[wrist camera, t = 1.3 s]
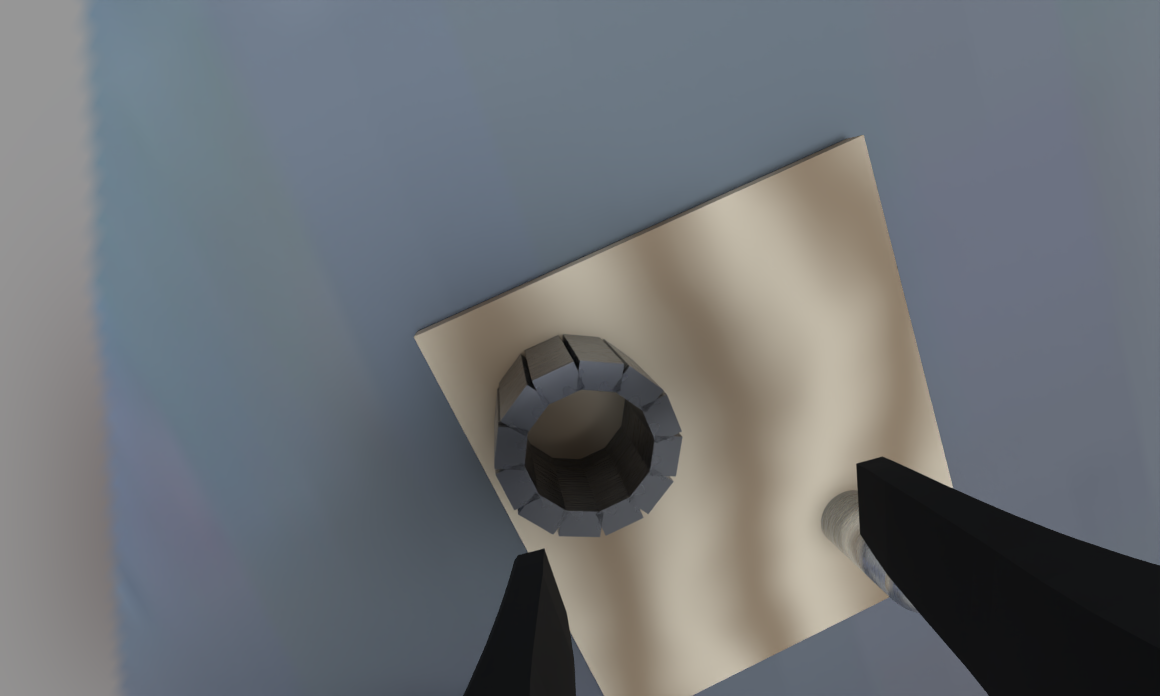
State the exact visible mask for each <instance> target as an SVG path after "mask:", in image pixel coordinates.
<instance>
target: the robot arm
mask: <svg viewBox="0 0 1160 696" xmlns="http://www.w3.org/2000/svg"><path fill="white" fill-rule="evenodd" d="M856 470H857V488H858V507H859V525H860V535H861V536H862V538H863V539H864V541H865V543H866V544H867V546H868V547H869V549H870V550H871V552H872V553H873V555H874V556H875V558H876V559H877V561H878V562H879V564H880V565H881V566H882V568H883V569H884V571H885V572H886V574H887V575H888V576H889V578H890V579H891V580H892V581H893V582H894V584H895V585H896V586H897V587H898V588H899V590H900V591H901V592H902V593H903V594H904V595H905V597H906V598H907V599H908V600H909V601H910V602H911V604H912V605H913V606H914V607H915V608H916V610H917V611H918V612H919V613H920V614H921V615H922V616H923V618H924V619H925V620H926V621H927V622H928V623H929V625H930V626H931V627H932V628H933V629H934V630H935V632H936V633H937V634H938V635H939V636H940V637H941V639H942V640H943V641H944V642H945V643H946V644H947V645H948V647H949V648H950V649H951V650H952V651H953V652H954V654H955V655H956V656H957V657H958V658H959V659H960V661H961V662H962V663H963V664H964V665H965V666H966V668H967V669H968V670H969V671H970V672H971V674H972V675H973V676H974V677H975V679H976V680H977V681H978V682H979V684H980V685H981V686H982V687H983V689H984V690H985V691H986V692H987V694H988V695H989V696H1160V566H1159V565H1156V564H1152V563H1149V562H1146V561H1142V560H1139V559H1136V558H1132V557H1129V556H1126V555H1123V554H1120V553H1117V552H1114V551H1111V550H1108V549H1105V548H1102V547H1099V546H1096V545H1093V544H1090V543H1087V542H1084V541H1081V540H1078V539H1075V538H1072V537H1070V536H1067V535H1064V534H1061V533H1058V532H1056V531H1053V530H1051V529H1048V528H1045V527H1043V526H1040V525H1038V524H1035V523H1033V522H1030V521H1028V520H1025V519H1023V518H1020V517H1018V516H1015V515H1013V514H1010V513H1008V512H1005V511H1003V510H1001V509H998V508H996V507H994V506H991V505H989V504H987V503H984V502H982V501H980V500H978V499H975V498H973V497H971V496H968V495H966V494H964V493H962V492H960V491H957V490H955V489H953V488H951V487H949V486H946V485H944V484H942V483H940V482H938V481H936V480H933V479H931V478H929V477H927V476H925V475H923V474H921V473H918V472H916V471H914V470H912V469H910V468H908V467H905V466H903V465H901V464H899V463H897V462H894V461H892V460H890V459H887V458H885V457H883V456H882V457H879V458H875V459H871V460H867V461H864V462H860V463H856ZM463 696H576V689H575V668H574V657H573V650H572V643H571V636H570V629H569V623H568V616H567V612H566V609H565V606H564V604H563V601H562V598H561V595H560V592H559V589H558V586H557V583H556V581H555V578H554V575H553V572H552V569H551V566H550V563H549V560H548V558H547V555H546V552H545V549H540V550H536V551H533V552H529V553H525V554H522V555H518V556H517V558H516V559H515V561H514V564H513V568H512V571H511V575H510V578H509V581H508V585H507V588H506V591H505V594H504V597H503V600H502V603H501V606H500V609H499V612H498V614H497V617H496V619H495V622H494V625H493V627H492V630H491V633H490V635H489V638H488V641H487V643H486V646H485V648H484V650H483V653H482V655H481V657H480V659H479V662H478V664H477V666H476V669H475V671H474V673H473V675H472V678H471V680H470V682H469V684H468V687H467V689H466V691H465V693H464V695H463Z"/></svg>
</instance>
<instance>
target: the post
mask: <svg viewBox="0 0 1160 696" xmlns="http://www.w3.org/2000/svg"><path fill="white" fill-rule="evenodd" d="M821 527H822V531H823V533H824V535H825V536H826V537H827V538H828V539H829V540H830V541H831V542H832V543H833V544H834V545H835V546H836V547H837V548H838V549H839V550H840V551H841V552H842V553H843V554H845V555H846V556H847V557H848V558H849V559H850V560H851V561H852V562H853V563H854V564H855V565H856V566H857V567H858V568H859V569H860V570H861V571H863V572H864V573H865V574H866V575H867V576H868V577H869V578H870V579H871V580H872V581H873V582H874V583H875V584H876V585H877V586H878V587H879V588H881V589H882V590H883V591H884V592H885V593H886V594H887V595H888V596H889V597H890V598H891V599H892V600H893V601H895V602H896V603H897V604H898V605H900V606H902V607H903V608H905V609H908V610H910V611H913V612H916V613H919V612H918V611H917V610H916V608H915V607H914V606H913V605H912V604H911V602H910V601H909V600H908V599H907V598H906V597H905V595H904V594H903V593H902V592H901V591H900V590H899V588H898V587H897V586H896V585H895V584H894V582H893V581H892V580H891V579H890V578H889V576H888V575H887V574H886V572H885V571H884V569H883V568H882V566H881V565H880V564H879V562H878V561H877V559H876V558H875V556H874V555H873V553H872V552H871V550H870V549H869V547H868V546H867V544H866V543H865V541H864V539H863V538H862V536H861V535H860V525H859V507H858V491H857V490H850V491H846V492H843V493H841V494H839V495H837V496H836V497H834V498H833V499H832V500H831V501H830V502H829V503H828V504H827V506H826V507H825V509H824V511H823V514H822V518H821Z"/></svg>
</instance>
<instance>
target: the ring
mask: <svg viewBox="0 0 1160 696" xmlns="http://www.w3.org/2000/svg"><path fill="white" fill-rule="evenodd" d="M524 351H525V355H526V357H525V356H524V355H522V354H521V353H520V355H519V356H518V357H517V359H516V360H515V362H514V363H513V364H512V366H511V367H510V368H509V370H508V371H507V373H506V374H505V375H504V377H503V378H502V379H501V381H500V382H499V388H497V396H496V407H495V418H494V469H495V475H496V477H497V479H498V481H499V482H500V484H501V486H502V488H503V490H504V492H505V494H506V496H507V498H508V500H509V501H510V503H511V505H512V507H513V509H514V510H516V509H518V515H520V516H522V517H523V518H525V519H527V520H528V521H530V522H532V523H534V524H535V525H537V526H539V527H541V528H542V529H544V530H546V531H547V532H549V533H551V534H554V533H555V532H556V531H558V536H565V537H600V535H601V528H602V529H603V531H604V533H605V535H606V536H607V535H609V534H611V533H613V532H615V531H617V530H619V529H621V528H624V527H626V526H628V525H630V524H632V523H634V522H636V521H638V520H640V519H642V518H644V517H643V515H642V513H641V511H640V509H641V510H642V511H644V512H646V513H647V514H649V513H650V511H651V510H652V509H653V508H654V506H655V505H656V504H657V502H658V501H659V500H660V499H661V497H662V496H663V495H664V493H665V492H666V491H667V490H668V488H669V487H670V486H671V484H672V483H673V482H674V481H673V480H672V478H671V477H670V476H676V473H677V467H678V461H679V455H680V449H681V443H682V436H681V435H680V432H682V430H681V428H680V425H679V423H678V420H677V418H676V415H675V413H674V410H673V408H672V405H671V403H670V401H669V398H668V396H667V394H666V393H665V392H664V391H663V389H662V388H661V387H660V386H659V385H658V384H657V383H656V382H655V381H654V380H653V379H652V378H651V377H650V376H649V375H648V374H647V373H646V372H645V371H644V370H643V369H642V368H641V367H640V366H639V365H638V364H637V363H635V362H634V361H633V360H632V359H631V358H630V357H629V356H627V355H626V354H624V353H623V352H622V351H620V350H619V349H617V348H616V347H615V346H613V345H612V344H610V343H609V342H608V341H606V340H605V339H603V340H601V338H600V337H593V336H581V335H570V334H563V340H562V341H561V339H560V337H559V335H557V336H555V337H552V338H550V339H548V340H546V341H544V342H541V343H539V344H537V345H535V346H533V347H530V348H528V349H526V350H524ZM580 390H591V391H606V392H616V393H618V394H619V395H620V396H622V397H623V398H624V399H625V403H624V410H623V417H622V424H621V427H620V428H619V430H618V431H617V432H616V434H615V435H614V436H613V438H612V439H611V440H610V441H609V443H608V444H607V445H606V447H605V448H603V449H601V450H599V451H596V452H594V453H592V454H590V455H588V456H586V457H584V458H581V459H565V458H552V457H551V456H549V455H547V454H546V453H544V452H543V451H541V450H539V449H538V448H536V447H535V446H533V445H531V444H530V442H529V440H528V438H527V436H528V432H529V431H530V429H531V428H532V427H533V425H534V424H535V423H536V421H537V420H538V418H539V417H540V416H541V414H542V413H543V412H544V410H545V409H546V408H547V406H548V405H549V404H551V403H554V402H556V401H558V400H560V399H562V398H564V397H567V396H569V395H571V394H573V393H575V392H577V391H580Z"/></svg>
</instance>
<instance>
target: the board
mask: <svg viewBox="0 0 1160 696" xmlns="http://www.w3.org/2000/svg"><path fill="white" fill-rule="evenodd" d="M563 334H570V335H581V336H593V337H600V338H601V340H603V339H605V340H606V341H608V342H609V343H610V344H612V345H613V346H615V347H616V348H617V349H619V350H620V351H622V352H623V353H624V354H626V355H627V356H629V357H630V358H631V359H632V360H633V361H634V362H635V363H637V364H638V365H639V366H640V367H641V368H642V369H643V370H644V371H645V372H646V373H647V374H648V375H649V376H650V377H651V378H652V379H653V380H654V381H655V382H656V383H657V384H658V385H659V386H660V387H661V388H662V389H663V391H664V392H665V393H666V394H667V396H668V398H669V401H670V403H671V405H672V408H673V410H674V413H675V415H676V418H677V420H678V423H679V425H680V428H681V430H682V432H680V435H681V436H682V443H681V449H680V455H679V461H678V467H677V473H676V476H670V477H671V478H672V480H673V481H674V482H673V483H672V484H671V486H670V487H669V488H668V490H667V491H666V492H665V493H664V495H663V496H662V497H661V499H660V500H659V501H658V502H657V504H656V505H655V506H654V508H653V509H652V510H651V511H650V513H649V514H647V513H646V512H644V511H642V510H641V509H640V511H641V513H642V515H643V517H644V518H642V519H640V520H638V521H636V522H634V523H632V524H630V525H628V526H626V527H624V528H621V529H619V530H617V531H615V532H613V533H611V534H609V535H607V536H606V535H605V533H604V531H603V529H602V528H601V535H600V537H565V536H558V531H556V532H555V533H554V534H551V533H549V532H547V531H546V530H544V529H542V528H541V527H539V526H537V525H535V524H534V523H532V522H530V521H528V520H527V519H525V518H523V517H522V516H520V515H518V509H516V510H514V509H513V507H512V505H511V503H510V501H509V500H508V498H507V496H506V494H505V492H504V490H503V488H502V486H501V484H500V482H499V481H498V479H497V477H496V475H495V469H494V418H495V407H496V396H497V388H499V382H500V381H501V379H502V378H503V377H504V375H505V374H506V373H507V371H508V370H509V368H510V367H511V366H512V364H513V363H514V362H515V360H516V359H517V357H518V356H519V355H520V353H521V354H522V355H524V356H525V357H526V355H525V351H524V350H526V349H528V348H530V347H533V346H535V345H537V344H539V343H541V342H544V341H546V340H548V339H550V338H552V337H555V336H557V335H559V337H560V339H561V341H562V340H563ZM414 338H415V340H416V342H417V344H418V346H419V348H420V350H421V352H422V353H423V355H424V357H425V359H426V361H427V363H428V365H429V367H430V368H431V370H432V372H433V374H434V376H435V378H436V380H437V382H438V384H439V385H440V387H441V389H442V391H443V393H444V395H445V397H446V399H447V400H448V402H449V404H450V406H451V408H452V410H453V412H454V414H455V416H456V417H457V419H458V421H459V423H460V425H461V427H462V429H463V431H464V433H465V434H466V436H467V438H468V440H469V442H470V444H471V446H472V448H473V449H474V451H475V453H476V455H477V457H478V459H479V461H480V463H481V465H482V466H483V468H484V470H485V472H486V474H487V476H488V478H489V480H490V481H491V483H492V485H493V487H494V489H495V491H496V493H497V495H498V497H499V498H500V500H501V502H502V504H503V506H504V508H505V510H506V512H507V514H508V515H509V517H510V519H511V521H512V523H513V525H514V527H515V529H516V530H517V532H518V534H519V536H520V538H521V540H522V542H523V544H524V546H525V547H526V549H527V551H528V553H529V552H533V551H536V550H540V549H545V552H546V555H547V558H548V560H549V563H550V566H551V569H552V572H553V575H554V578H555V581H556V583H557V586H558V589H559V592H560V595H561V598H562V601H563V604H564V606H565V609H566V612H567V616H568V623H569V629H570V632H571V634H572V636H573V638H574V640H575V642H576V643H577V645H578V647H579V649H580V651H581V653H582V655H583V657H584V659H585V660H586V662H587V664H588V666H589V668H590V670H591V672H592V674H593V675H594V677H595V679H596V681H597V683H598V685H599V687H600V689H601V691H602V692H603V694H604V696H692V695H694V694H696V693H698V692H700V691H702V690H704V689H706V688H708V687H710V686H712V685H714V684H716V683H718V682H720V681H722V680H724V679H726V678H728V677H730V676H732V675H734V674H736V673H738V672H740V671H742V670H744V669H746V668H748V667H750V666H752V665H754V664H756V663H758V662H760V661H762V660H764V659H766V658H768V657H770V656H772V655H774V654H776V653H778V652H780V651H782V650H784V649H786V648H788V647H790V646H792V645H794V644H796V643H798V642H800V641H802V640H804V639H806V638H808V637H810V636H812V635H814V634H816V633H818V632H820V631H822V630H824V629H826V628H828V627H830V626H832V625H834V624H836V623H838V622H840V621H842V620H844V619H846V618H848V617H850V616H853V615H855V614H857V613H859V612H861V611H863V610H865V609H867V608H869V607H871V606H873V605H875V604H877V603H879V602H881V601H883V600H885V599H887V598H889V596H888V595H887V594H886V593H885V592H884V591H883V590H882V589H881V588H879V587H878V586H877V585H876V584H875V583H874V582H873V581H872V580H871V579H870V578H869V577H868V576H867V575H866V574H865V573H864V572H863V571H861V570H860V569H859V568H858V567H857V566H856V565H855V564H854V563H853V562H852V561H851V560H850V559H849V558H848V557H847V556H846V555H845V554H843V553H842V552H841V551H840V550H839V549H838V548H837V547H836V546H835V545H834V544H833V543H832V542H831V541H830V540H829V539H828V538H827V537H826V536H825V535H824V533H823V531H822V527H821V518H822V514H823V511H824V509H825V507H826V506H827V504H828V503H829V502H830V501H831V500H832V499H833V498H834V497H836V496H837V495H839V494H841V493H843V492H846V491H850V490H857V491H858V488H857V470H856V463H860V462H864V461H867V460H871V459H875V458H879V457H882V456H883V457H885V458H887V459H890V460H892V461H894V462H897V463H899V464H901V465H903V466H905V467H908V468H910V469H912V470H914V471H916V472H918V473H921V474H923V475H925V476H927V477H929V478H931V479H933V480H936V481H938V482H940V483H942V484H944V485H946V486H949V487H951V488H953V486H952V482H951V478H950V474H949V470H948V466H947V462H946V458H945V454H944V450H943V446H942V442H941V439H940V435H939V431H938V427H937V423H936V419H935V415H934V411H933V407H932V403H931V399H930V395H929V391H928V387H927V383H926V379H925V375H924V372H923V368H922V364H921V360H920V356H919V352H918V348H917V344H916V340H915V336H914V332H913V328H912V324H911V320H910V316H909V312H908V308H907V304H906V301H905V297H904V293H903V289H902V285H901V281H900V277H899V273H898V269H897V265H896V261H895V257H894V253H893V249H892V245H891V241H890V237H889V233H888V230H887V226H886V222H885V218H884V214H883V210H882V206H881V202H880V198H879V194H878V190H877V186H876V182H875V178H874V174H873V170H872V166H871V162H870V159H869V155H868V151H867V147H866V143H865V139H864V135H861V136H857V137H852V138H848V139H845V140H843V141H841V142H839V143H836V144H834V145H832V146H830V147H827V148H825V149H823V150H821V151H819V152H816V153H814V154H812V155H810V156H807V157H805V158H803V159H801V160H798V161H796V162H794V163H792V164H790V165H787V166H785V167H783V168H781V169H778V170H776V171H774V172H772V173H770V174H767V175H765V176H763V177H761V178H758V179H756V180H754V181H752V182H749V183H747V184H745V185H743V186H741V187H738V188H736V189H734V190H732V191H729V192H727V193H725V194H723V195H720V196H718V197H716V198H714V199H712V200H709V201H707V202H705V203H703V204H700V205H698V206H696V207H694V208H692V209H689V210H687V211H685V212H683V213H680V214H678V215H676V216H674V217H671V218H669V219H667V220H665V221H663V222H660V223H658V224H656V225H654V226H651V227H649V228H647V229H645V230H643V231H640V232H638V233H636V234H634V235H631V236H629V237H627V238H625V239H622V240H620V241H618V242H616V243H614V244H611V245H609V246H607V247H605V248H602V249H600V250H598V251H596V252H594V253H591V254H589V255H587V256H585V257H582V258H580V259H578V260H576V261H573V262H571V263H569V264H567V265H565V266H562V267H560V268H558V269H556V270H553V271H551V272H549V273H547V274H545V275H542V276H540V277H538V278H536V279H533V280H531V281H529V282H527V283H524V284H522V285H520V286H518V287H516V288H513V289H511V290H509V291H507V292H504V293H502V294H500V295H498V296H496V297H493V298H491V299H489V300H487V301H484V302H482V303H480V304H478V305H475V306H473V307H471V308H469V309H467V310H464V311H462V312H460V313H458V314H455V315H453V316H451V317H449V318H447V319H444V320H442V321H440V322H438V323H435V324H433V325H431V326H429V327H426V328H424V329H422V330H420V331H418V332H417V333H416V334H415V336H414ZM624 403H625V399H624V398H623V397H622V396H620V395H619V394H618V393H616V392H606V391H591V390H580V391H577V392H575V393H573V394H571V395H569V396H567V397H564V398H562V399H560V400H558V401H556V402H554V403H551V404H549V405H548V406H547V408H546V409H545V410H544V412H543V413H542V414H541V416H540V417H539V418H538V420H537V421H536V423H535V424H534V425H533V427H532V428H531V429H530V431H529V432H528V436H527V438H528V440H529V442H530V444H531V445H533V446H535V447H536V448H538V449H539V450H541V451H543V452H544V453H546V454H547V455H549V456H551V457H552V458H565V459H581V458H584V457H586V456H588V455H590V454H592V453H594V452H596V451H599V450H601V449H603V448H605V447H606V445H607V444H608V443H609V441H610V440H611V439H612V438H613V436H614V435H615V434H616V432H617V431H618V430H619V428H620V427H621V424H622V417H623V410H624Z"/></svg>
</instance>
